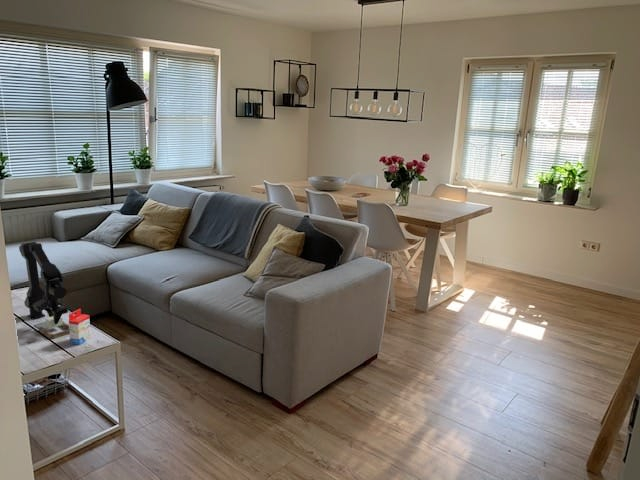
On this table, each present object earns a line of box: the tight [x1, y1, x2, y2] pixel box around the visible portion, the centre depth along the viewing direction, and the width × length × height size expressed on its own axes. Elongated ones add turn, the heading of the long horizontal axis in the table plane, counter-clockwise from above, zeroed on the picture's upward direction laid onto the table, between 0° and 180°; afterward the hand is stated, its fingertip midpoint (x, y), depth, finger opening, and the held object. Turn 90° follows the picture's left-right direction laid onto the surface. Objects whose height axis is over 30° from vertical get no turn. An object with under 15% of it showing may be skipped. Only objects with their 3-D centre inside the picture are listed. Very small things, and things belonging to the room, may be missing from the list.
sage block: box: [45, 316, 63, 329], centre depth 241 cm, size 4×6×4 cm, turn 142°
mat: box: [34, 321, 50, 330], centre depth 247 cm, size 8×10×1 cm
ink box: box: [68, 308, 91, 346], centre depth 231 cm, size 8×5×15 cm, turn 168°
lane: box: [38, 320, 70, 340], centre depth 240 cm, size 13×11×2 cm
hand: (54, 322), depth 242 cm, fingers closed on sage block, 4 cm apart
